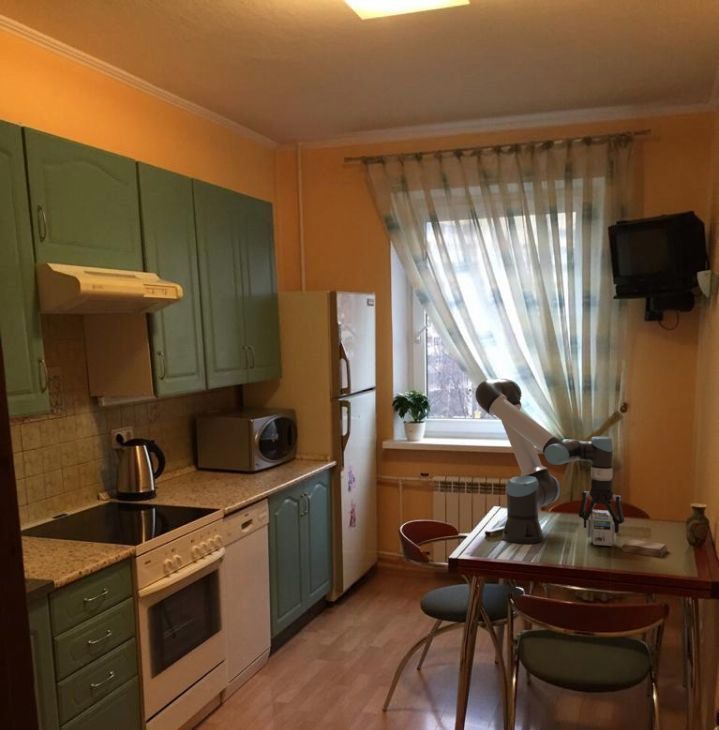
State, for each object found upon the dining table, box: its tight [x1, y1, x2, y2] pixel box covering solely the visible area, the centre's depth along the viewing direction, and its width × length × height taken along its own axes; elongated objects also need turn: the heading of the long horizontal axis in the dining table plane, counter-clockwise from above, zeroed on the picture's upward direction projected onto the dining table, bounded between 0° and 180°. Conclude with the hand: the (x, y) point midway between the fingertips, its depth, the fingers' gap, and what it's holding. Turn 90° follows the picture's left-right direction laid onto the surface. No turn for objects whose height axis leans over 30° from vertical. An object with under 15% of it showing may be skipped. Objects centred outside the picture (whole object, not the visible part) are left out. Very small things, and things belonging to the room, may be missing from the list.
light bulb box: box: [589, 509, 613, 547], centre depth 246 cm, size 11×7×11 cm, turn 168°
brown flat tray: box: [621, 538, 668, 558], centre depth 237 cm, size 13×9×2 cm
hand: (601, 538), depth 246 cm, fingers closed on light bulb box, 9 cm apart
